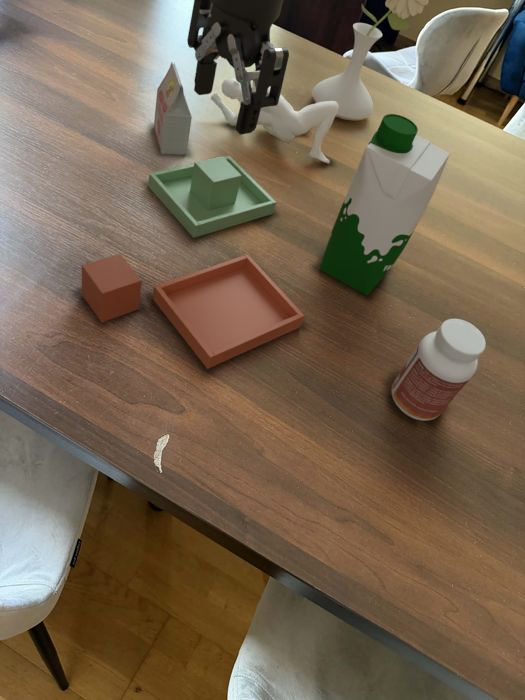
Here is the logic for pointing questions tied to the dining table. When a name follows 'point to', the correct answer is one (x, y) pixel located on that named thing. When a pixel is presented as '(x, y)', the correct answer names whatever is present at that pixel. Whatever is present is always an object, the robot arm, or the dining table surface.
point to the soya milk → (383, 204)
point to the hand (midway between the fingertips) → (222, 112)
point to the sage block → (215, 182)
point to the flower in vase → (348, 83)
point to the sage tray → (191, 211)
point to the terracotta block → (111, 287)
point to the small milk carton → (172, 115)
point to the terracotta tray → (227, 309)
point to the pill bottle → (438, 369)
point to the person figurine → (284, 117)
